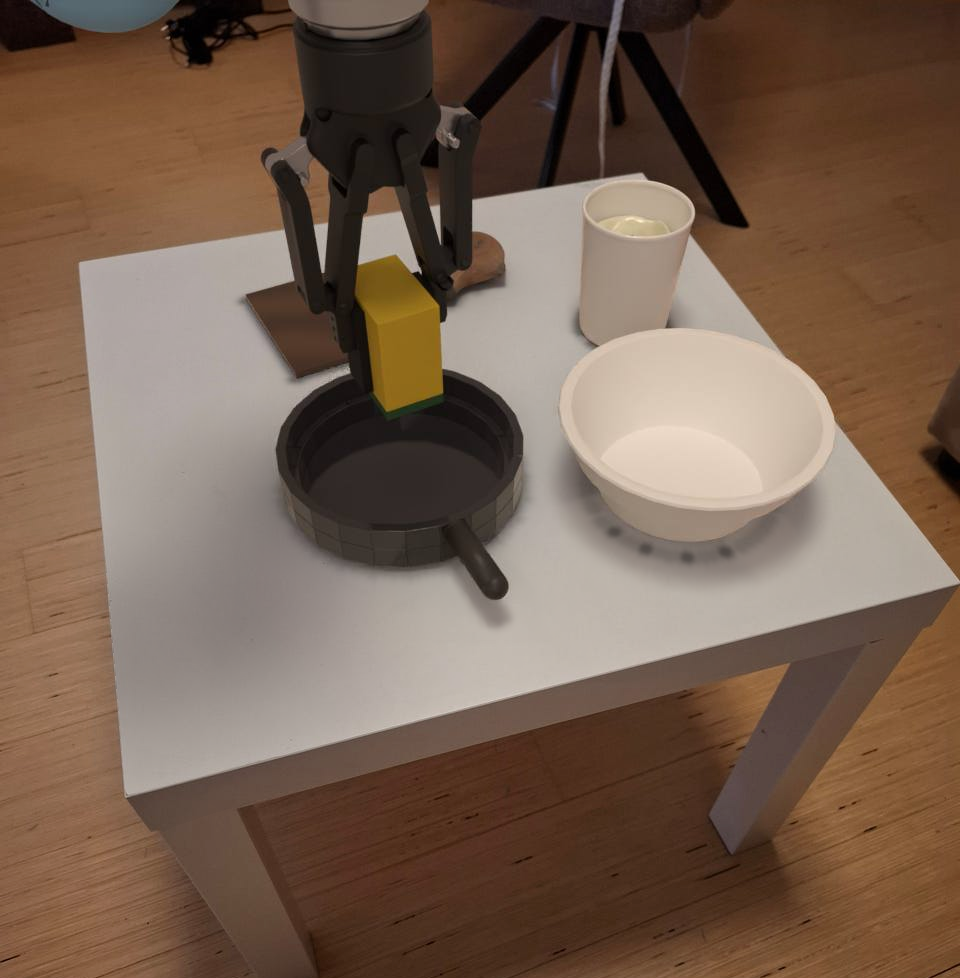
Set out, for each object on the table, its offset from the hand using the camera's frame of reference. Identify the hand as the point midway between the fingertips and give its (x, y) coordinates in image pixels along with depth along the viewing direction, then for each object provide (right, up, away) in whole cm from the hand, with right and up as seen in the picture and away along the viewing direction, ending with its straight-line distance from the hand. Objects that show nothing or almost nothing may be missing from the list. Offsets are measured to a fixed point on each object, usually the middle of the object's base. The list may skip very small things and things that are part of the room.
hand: (394, 371), depth 69 cm
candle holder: (+20, +11, +23) cm, 32 cm away
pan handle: (+6, -14, +1) cm, 16 cm away
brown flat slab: (-9, +11, +23) cm, 27 cm away
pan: (0, -7, +9) cm, 11 cm away
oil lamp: (+5, +17, +27) cm, 32 cm away
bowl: (+23, -7, +9) cm, 26 cm away
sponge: (0, -1, +1) cm, 1 cm away
